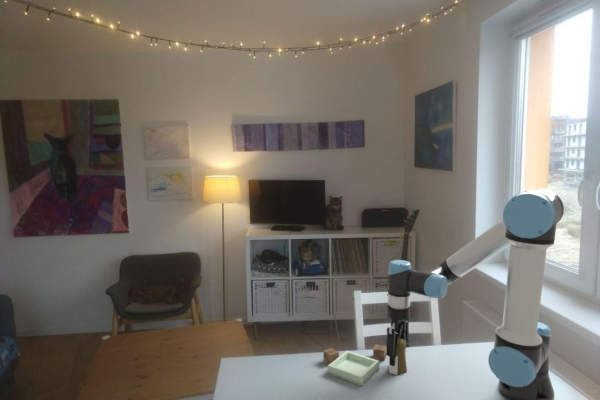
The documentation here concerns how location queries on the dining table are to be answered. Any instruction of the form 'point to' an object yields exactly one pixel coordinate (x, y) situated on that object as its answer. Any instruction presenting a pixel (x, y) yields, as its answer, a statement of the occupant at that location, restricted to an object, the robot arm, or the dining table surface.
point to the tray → (353, 367)
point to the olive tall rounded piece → (401, 357)
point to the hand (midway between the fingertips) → (397, 368)
